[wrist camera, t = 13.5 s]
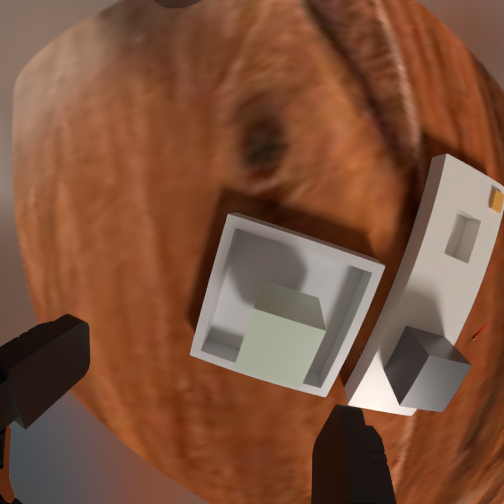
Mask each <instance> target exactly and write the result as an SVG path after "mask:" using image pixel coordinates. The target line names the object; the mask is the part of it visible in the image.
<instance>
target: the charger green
mask: <svg viewBox="0 0 504 504" xmlns="http://www.w3.org/2000/svg"><path fill="white" fill-rule="evenodd" d="M325 333H326V328H325V323H324V319H323V314H322V310H321V305H320V301H319V298H317V297H314V296H311V295H308V294H305V293H302V292H299V291H295V290H292V289H289V288H286V287H283V286H280V285H277V284H274V283H271V282H268V281H265V280H264V282H263V285H262V288H261V290H260V293H259V296H258V298H257V301H256V304H255V306H254V309H253V312H252V315H251V318H250V321H249V324H248V327H247V330H246V333H245V336H244V339H243V342H242V345H241V348H240V351H239V354H238V357H237V360H236V363H235V366H234V369H235V370H238V371H241V372H244V373H247V374H250V375H253V376H256V377H259V378H263V379H266V380H269V381H273V382H276V383H279V384H283V385H286V386H290V387H294V388H297V389H300V387H301V385H302V383H303V381H304V379H305V377H306V375H307V373H308V370H309V368H310V366H311V364H312V362H313V360H314V357H315V355H316V353H317V351H318V349H319V346H320V344H321V342H322V340H323V337H324V335H325Z"/></svg>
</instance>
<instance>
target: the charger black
mask: <svg viewBox="0 0 504 504" xmlns="http://www.w3.org/2000/svg"><path fill="white" fill-rule="evenodd" d="M471 366H472V365H471V364H470V363H469V362H468V361H467V359H466V358H465V357H464V356H463V355H462V354H461V353H460V352H459V351H458V350H457V349H456V348H455V347H454V346H453V345H452V344H451V342H450V341H449V340H448V339H447V338H446V337H444V336H440V335H437V334H433V333H430V332H426V331H423V330H420V329H416V328H413V327H409V326H406V327H405V329H404V331H403V333H402V335H401V337H400V339H399V341H398V343H397V345H396V347H395V349H394V351H393V353H392V355H391V357H390V359H389V361H388V363H387V365H386V367H385V368H384V372H385V374H386V377H387V379H388V381H389V383H390V385H391V388H392V390H393V392H394V394H395V397H396V399H397V401H398V404H399V406H403V407H409V408H416V409H422V410H430V411H438V412H443V411H444V409H445V408H446V406H447V405H448V403H449V402H450V400H451V399H452V397H453V396H454V394H455V393H456V391H457V389H458V388H459V386H460V385H461V383H462V381H463V380H464V378H465V376H466V374H467V373H468V371H469V369H470V367H471Z"/></svg>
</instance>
